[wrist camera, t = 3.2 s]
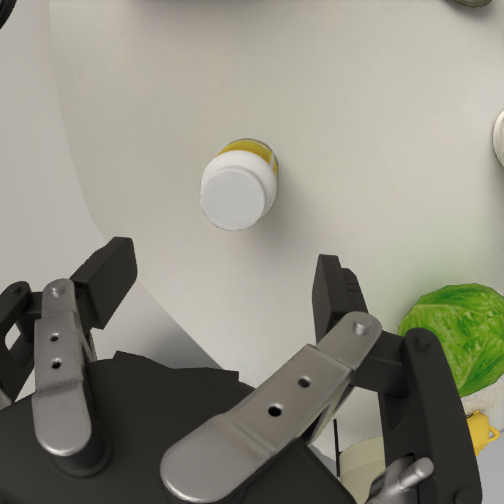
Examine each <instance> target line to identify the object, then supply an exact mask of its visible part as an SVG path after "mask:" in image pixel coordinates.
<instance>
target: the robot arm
mask: <svg viewBox="0 0 504 504" xmlns="http://www.w3.org/2000/svg"><path fill="white" fill-rule="evenodd" d="M3 2H4V0H0V9H1V7H2V4H3ZM136 278H137V264H136V258H135V252H134V245H133V241H132V239H131V238H127V237H114V238H113V239H112V240H111V241H110V242H109V243H108V244H107V245H106V246H104V247H102V248H100V249H99V250H97V251H95V252H94V253H93V254H92V255H91V256H90V257H89V259H87V260H86V261H85V263H84V264H82V265H81V266H80V267H79V269H78V270H77V271H76V272H75V273H74V274H73V275H72V276H71V277H70V278H69V279H57V280H55V281H52V282H51V283H49V284H48V285H47V286H46V287H45V288H44V290H43V292H32V291H31V289H30V286H29V284H28V283H27V282H25V281H19V282H16V283H13V284H11V285H10V286H8V287H7V288H6V289H5V290H4V291H3V292H2V294H1V295H0V504H357V503H356V501H355V499H354V497H353V496H352V495H351V493H350V492H349V491H348V490H347V489H346V488H345V487H344V486H343V485H342V484H341V483H340V482H339V480H338V479H337V478H336V477H335V476H334V475H333V474H332V473H331V472H330V471H329V469H328V468H327V467H326V466H325V465H324V464H323V463H322V462H321V461H320V459H319V458H318V457H317V456H316V455H315V454H314V453H313V451H312V450H311V449H310V448H309V447H310V445H311V444H312V443H313V442H314V441H315V440H316V439H317V437H318V436H319V435H320V434H321V432H322V431H323V429H324V428H325V427H326V425H327V424H328V422H329V421H330V420H331V418H332V417H333V416H334V415H335V413H336V412H337V411H338V410H339V408H340V407H341V406H342V404H343V403H344V402H345V401H346V399H347V398H348V397H349V395H350V394H351V393H352V391H353V390H354V389H355V387H360V388H364V389H368V390H371V391H375V392H378V400H379V407H380V415H381V424H382V433H383V443H384V455H385V470H384V471H382V472H381V473H380V474H379V475H377V476H376V477H375V478H374V480H373V481H372V483H371V486H370V491H369V496H368V498H367V500H366V502H365V503H364V504H481V503H482V488H481V482H480V476H479V470H478V465H477V460H476V455H475V451H474V446H473V442H472V438H471V434H470V430H469V426H468V423H467V419H466V415H465V412H464V409H463V405H462V402H461V399H460V396H459V392H458V389H457V386H456V383H455V380H454V377H453V375H452V372H451V369H450V366H449V363H448V361H447V358H446V355H445V353H444V350H443V348H442V345H441V343H440V341H439V339H438V337H437V336H436V335H435V334H434V333H432V332H431V331H429V330H427V329H425V328H420V327H415V328H411V329H409V330H408V331H407V332H406V334H405V336H404V337H403V336H399V335H395V334H392V333H388V332H386V331H383V330H382V326H381V323H380V322H379V321H378V320H377V319H376V318H375V317H374V316H372V315H370V314H369V313H368V310H367V307H366V304H365V301H364V297H363V295H362V292H361V289H360V286H359V283H358V280H357V277H356V275H355V274H354V273H353V272H352V271H351V270H350V269H348V268H341V265H340V262H339V258H338V256H335V255H324V254H320V255H319V257H318V262H317V267H316V272H315V278H314V283H313V289H312V305H313V314H314V324H315V334H316V346H313V345H311V344H307V345H305V346H304V347H303V348H302V349H300V350H299V351H298V352H297V353H296V354H295V355H294V356H293V357H292V358H291V359H290V360H289V361H287V362H286V363H285V364H284V365H283V366H282V367H281V368H280V369H279V370H277V371H276V372H275V373H274V374H273V375H272V376H271V377H269V378H268V379H267V380H266V381H265V382H264V383H262V384H261V385H260V386H259V387H258V388H257V389H255V388H253V387H252V386H250V385H247V384H245V383H243V382H240V381H239V372H238V371H230V370H221V369H214V368H207V367H205V368H183V369H172V368H168V367H166V366H164V365H161V364H159V363H157V362H155V361H153V360H150V359H148V358H146V357H144V356H139V355H135V354H130V353H126V352H121V351H116V353H115V355H114V357H113V359H104V360H97V356H96V352H95V347H94V342H93V338H92V334H91V332H90V330H91V329H92V327H93V328H97V329H102V330H103V329H104V328H105V326H106V324H107V323H108V321H109V320H110V318H111V317H112V315H113V314H114V312H115V311H116V309H117V308H118V306H119V305H120V303H121V301H122V300H123V299H124V297H125V296H126V294H127V292H128V291H129V290H130V288H131V287H132V285H133V284H134V283H135V281H136ZM14 323H15V324H16V326H17V328H18V329H19V331H20V333H21V334H20V336H19V337H18V339H17V340H16V341H15V343H14V344H13V346H12V348H11V349H10V350H8V348H7V347H6V344H5V336H6V334H7V333H8V331H9V330H10V328H11V327H12V326H13V325H14ZM34 367H35V385H36V389H35V392H34V393H32V394H30V395H28V396H26V397H25V398H22V399H20V400H19V401H17V402H15V400H16V398H17V397H18V395H19V393H20V391H21V389H22V387H23V386H24V384H25V382H26V380H27V379H28V377H29V375H30V373H31V372H32V370H33V368H34ZM14 402H15V403H14Z"/></svg>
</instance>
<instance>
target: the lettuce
mask: <svg viewBox="0 0 504 504" xmlns="http://www.w3.org/2000/svg"><path fill="white" fill-rule="evenodd" d="M415 327H420V328H425V329H427V330H429V331H431V332H432V333H434V334H435V335H436V336H437V337H438V339H439V341H440V343H441V345H442V348H443V350H444V353H445V355H446V358H447V361H448V363H449V366H450V369H451V372H452V375H453V377H454V380H455V383H456V386H457V389H458V392H459V396H460V398H461V397H465V396H468V395H470V394H473V393H475V392H477V391H479V390H481V389H483V388H485V387H487V386H489V385H491V384H493V383H495V382H496V381H497V380H498V379H499V378H500V377H501V376H502V374H503V373H504V297H503V296H502V295H500V294H499V293H497V292H496V291H495V290H493V289H492V288H490V287H486V286H483V285H479V284H476V283H473V284H464V285H450V286H446V287H444V288H442V289H440V290H438V291H436V292H433V293H430V294H427V295H424V296H422V297H421V298H420V299H419V301H418V302H417V303H416V304H415V306H414V307H413V308H412V310H411V311H410V312H409V313H408V314H407V315H406V316H405V317H404V318H403V319H402V321H401V323H400V325H399V328H398V333H397V335H399V336H403V337H404V336H405V334H406V332H407V331H408V330H409V329H411V328H415Z"/></svg>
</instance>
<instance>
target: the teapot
mask: <svg viewBox="0 0 504 504" xmlns="http://www.w3.org/2000/svg"><path fill="white" fill-rule="evenodd" d="M467 423H468V426H469V430H470V434H471V438H472V442H473V446H474V451H475V455H476V456H478V455H479V452H480V451H481V450H482V449H484V447H486V445H487V444H488V442H491V441H494V440H496V439H498V438H499V436H500V433H499V431H498V430H497V429H495V428H494V427H492V426H490V425H489V420H488V417H487V416H486V415H484V414H483V413H480V414H479V410H478V411H476V412H474V413H473V414H472V417H470V418H467ZM490 431H491V432H492V433H493V434H494V437H493V438H490V439H489V432H490Z"/></svg>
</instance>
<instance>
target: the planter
mask: <svg viewBox="0 0 504 504" xmlns="http://www.w3.org/2000/svg"><path fill="white" fill-rule="evenodd" d="M333 421H334V434H335V450H336V466H337V467H336V468H337V477H340V478H341V484H342V485H343V486H344V487H345V488H346V489H347V490H348V491H349V492H350V493H351V495H352V496H353V497H354V499H355V501H356V503H357V504H364V503H365V502H366V500H367V498H368V496H369V491H370V486H371V483H372V481H373V480H374V478H375V477H376V476H377V475H379V474H380V473H381V472H382V471H384V470H385V455H384V443H383V435H382V436H378V437H374V438H371V439H368V440H365V441H362V442H359V443H357V444H355V445H352V446H351V447H349V448H347V449H346V450H344V451H342V452H339V446H338V433H337V421H336V419H334V420H333ZM339 456H340V457H339ZM339 459H340V461H339Z"/></svg>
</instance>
